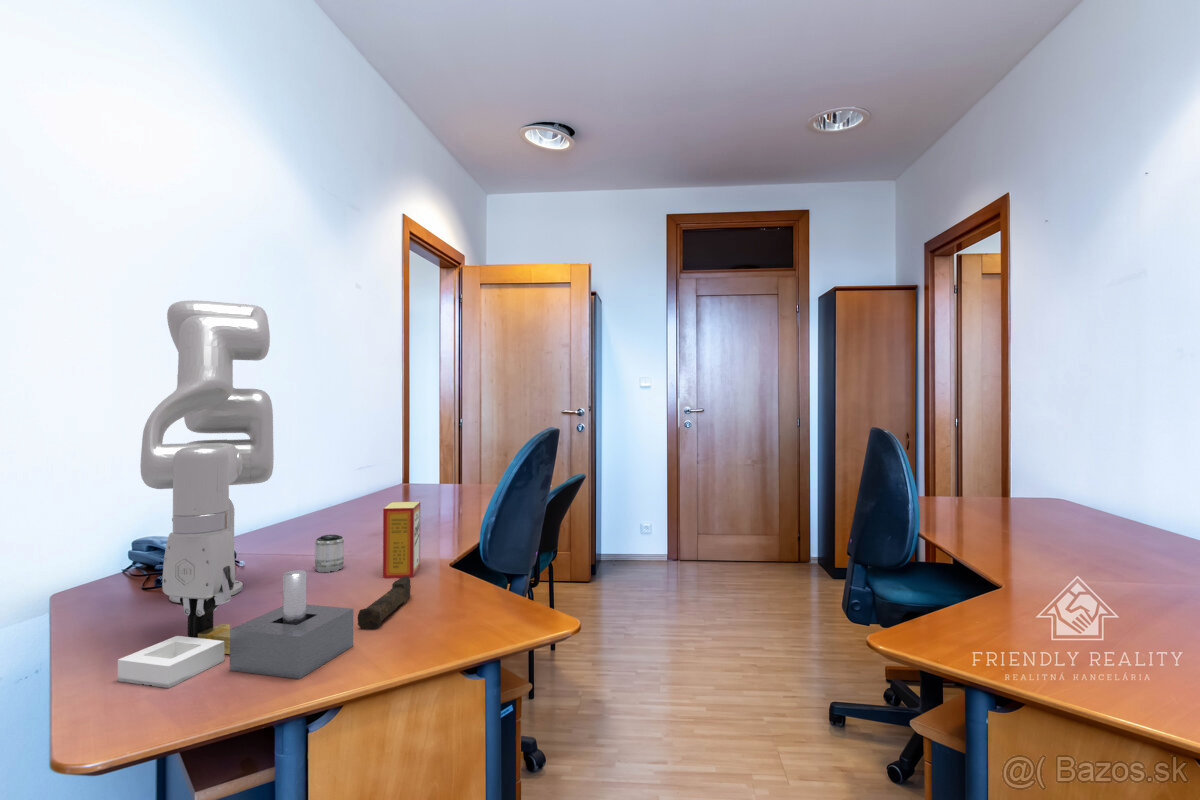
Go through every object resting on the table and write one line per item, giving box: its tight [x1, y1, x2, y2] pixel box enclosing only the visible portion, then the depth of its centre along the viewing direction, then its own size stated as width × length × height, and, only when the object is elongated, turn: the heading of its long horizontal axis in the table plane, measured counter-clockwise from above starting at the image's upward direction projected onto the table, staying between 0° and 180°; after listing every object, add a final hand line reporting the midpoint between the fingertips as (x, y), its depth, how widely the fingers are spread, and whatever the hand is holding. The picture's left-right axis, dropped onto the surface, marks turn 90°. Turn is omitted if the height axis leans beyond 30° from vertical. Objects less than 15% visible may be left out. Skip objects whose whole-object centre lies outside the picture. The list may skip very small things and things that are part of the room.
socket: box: [229, 603, 354, 680], centre depth 92 cm, size 12×12×6 cm
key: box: [198, 623, 231, 655], centre depth 94 cm, size 13×4×3 cm, turn 77°
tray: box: [117, 635, 225, 689], centre depth 87 cm, size 9×9×3 cm
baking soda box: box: [382, 501, 421, 579], centre depth 139 cm, size 10×6×16 cm
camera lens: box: [314, 534, 345, 573], centre depth 141 cm, size 6×6×8 cm
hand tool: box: [357, 576, 411, 630], centre depth 113 cm, size 19×4×5 cm, turn 174°
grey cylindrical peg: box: [282, 569, 307, 625], centre depth 92 cm, size 3×3×13 cm
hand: (200, 637), depth 96 cm, fingers closed
